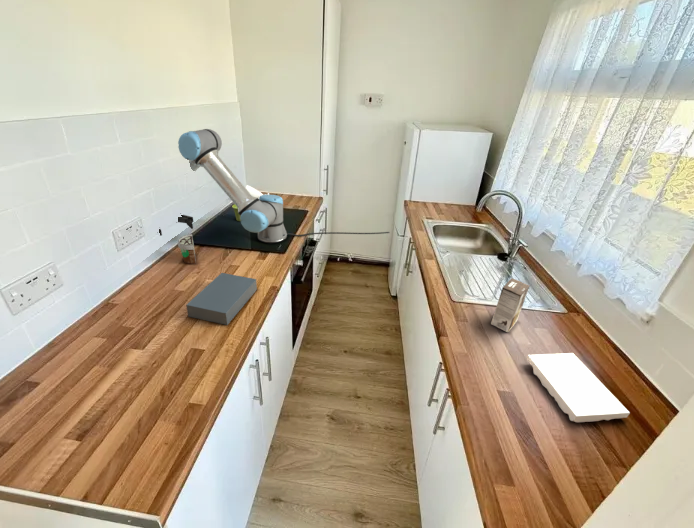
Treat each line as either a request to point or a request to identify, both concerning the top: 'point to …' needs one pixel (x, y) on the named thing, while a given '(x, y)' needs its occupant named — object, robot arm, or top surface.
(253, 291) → the grey rectangular block
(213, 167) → the robot arm
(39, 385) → the top surface
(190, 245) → the food container
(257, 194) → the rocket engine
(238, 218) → the plant pot
